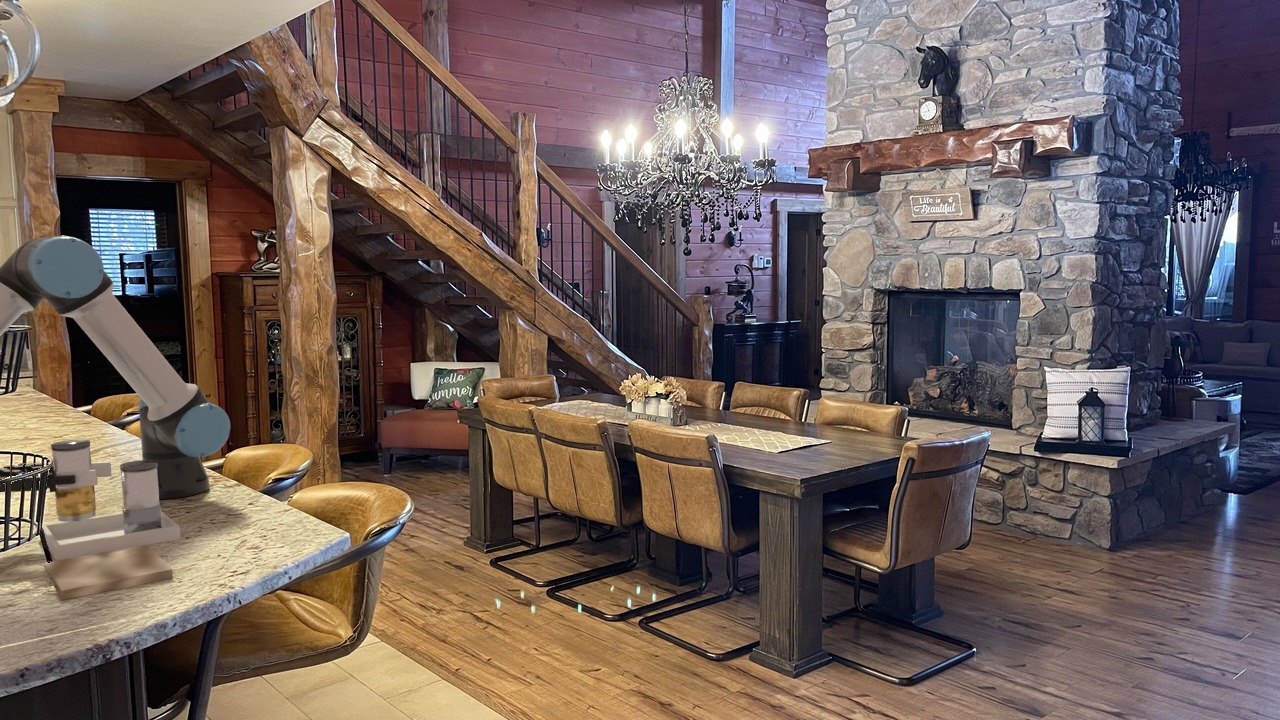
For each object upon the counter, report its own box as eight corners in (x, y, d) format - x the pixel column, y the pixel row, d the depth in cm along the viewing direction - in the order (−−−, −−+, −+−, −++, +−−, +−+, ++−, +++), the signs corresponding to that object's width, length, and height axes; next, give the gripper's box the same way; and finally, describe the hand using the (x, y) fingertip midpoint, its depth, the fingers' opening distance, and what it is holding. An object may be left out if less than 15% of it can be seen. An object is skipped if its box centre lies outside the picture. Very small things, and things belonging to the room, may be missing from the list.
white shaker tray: (157, 524, 193) (156, 507, 193) (180, 544, 180) (179, 525, 179) (41, 543, 181) (40, 525, 180) (56, 566, 167) (55, 547, 167)
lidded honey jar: (93, 510, 183) (86, 437, 182) (99, 517, 178) (93, 442, 177) (54, 516, 179) (47, 442, 178) (60, 524, 174) (53, 447, 173)
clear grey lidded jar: (157, 530, 186) (153, 458, 184) (165, 537, 181) (161, 464, 179) (121, 536, 182) (116, 463, 180) (128, 544, 177) (123, 468, 175)
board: (147, 552, 175) (146, 544, 175) (172, 577, 161) (172, 569, 161) (44, 571, 165) (44, 562, 165) (62, 600, 151) (61, 590, 151)
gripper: (-6, 487, 185) (123, 480, 188) (-61, 514, 166) (84, 506, 170) (-10, 448, 184) (120, 442, 187) (-65, 471, 165) (80, 464, 169)
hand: (103, 473), depth 179 cm, fingers closed on lidded honey jar, 6 cm apart
